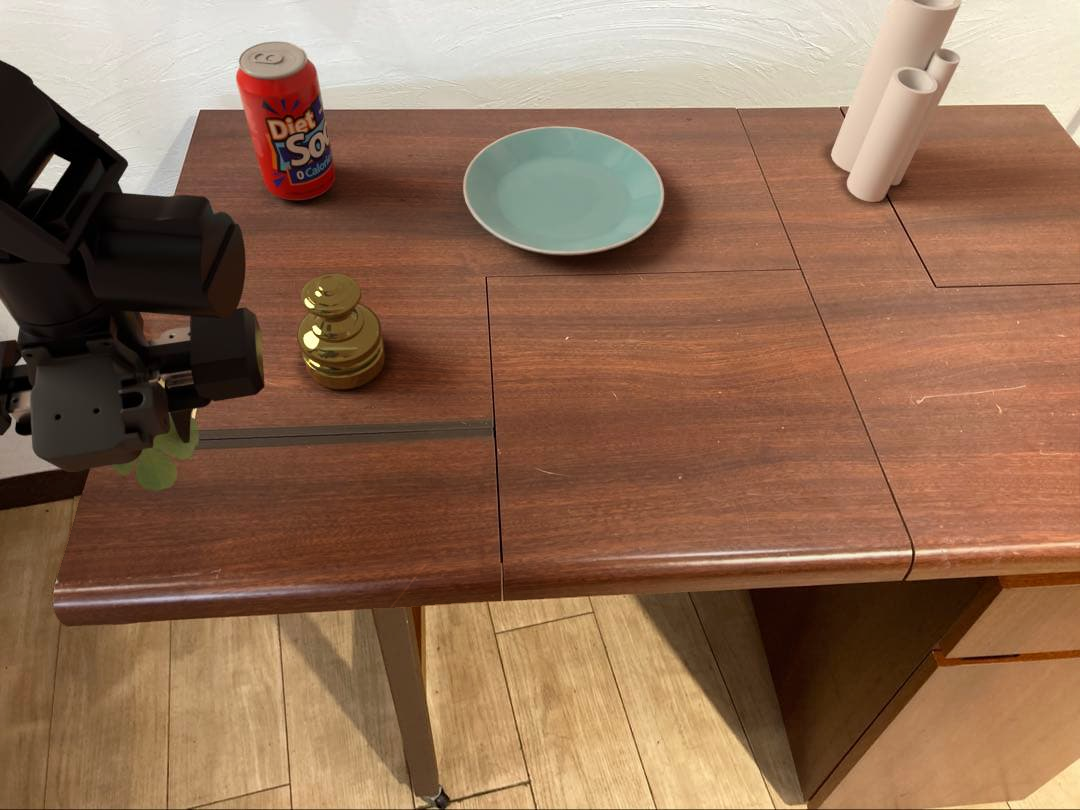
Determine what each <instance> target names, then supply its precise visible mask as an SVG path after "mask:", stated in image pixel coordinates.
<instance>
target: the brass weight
mask: <svg viewBox="0 0 1080 810" xmlns="http://www.w3.org/2000/svg"><path fill="white" fill-rule="evenodd" d="M300 298H301V299H300V300H301V304H302V305H303V307H304V309H305V310H306V311H308V312H306V314H305V315H304V316H303V317H302V319H301V320H300V322H299V324H298V327H297V329H296V330H297V331H296V339H297V340H296V341H297V343H298V346H299V348H300V349H301V350H300V352H301V353H300V354H301V357H302V360H303V362H304V366H305V368H306V371H307V373H308V375H309V377H310V378H311V379H312V380H313V381H314V382H316V383H317V384H319V385H321V386H323V387H326V388H328V389H333V390H350V389H351V390H352V389H356V388H359V387H361V386H363V385H366V384H368V383H369V382H371V381H372V380H373V379H375V378H376V377H377V375H378V374H380V372H381V371H382V369H383V367H384V364H385V360H386V354H385V347H384V345H385V343H384V342H385V341H384V337H383V334H382V325H381V320H380V319H379V317H378V316H377V314H376V313H375V312H374V311H373V310H372V309H371V308H370V307H368V306H367V305H365V304H362V303H360V301H361V298H362V290H361V287H360V285H359V283H358V282H357V280H356V279H354V278H353V277H351V276H350V275H347V274H346V273H345V274H344V273H340V272H327V273H322V274H319V275H316V276H313V278H311V279H310V280H309V281H307V282H306V283H305V284H304V286H303V287H302V290H301V293H300Z"/></svg>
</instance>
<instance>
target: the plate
mask: <svg viewBox="0 0 1080 810" xmlns="http://www.w3.org/2000/svg"><path fill="white" fill-rule="evenodd" d="M664 187H665V186H664V183H663V180H662V177H661V176H660V174H659V171H658V170H657V168H656V167H655V165H654V164H653V163H652V162H651V161H650V160H649V159H648V158H647V157H646V155H645V154H643V153H642V152H641V151H640V150H638V149H636V148H635V147H633V145H630V144H628V143H626V142H625V141H623V140H621V139H618V138H616V137H613V136H611V135H609V134H606V133H602V132H601V131H600V132H599V131H596V130H592V129H587V128H582V127H577V126H576V127H575V126H561V125H560V126H559V125H558V126H555V125H554V126H551V125H550V126H540V127H539V126H538V127H533V128H528V129H523V130H519V131H516V132H513V133H510V134H507V135H505V136H503V137H501V138H499V139H497V140H495V141H493V142H492V143H490V144H488V145H487V146H485V147H484V148H483V149H481V150H480V151H479V152H478V153H477V154H476V155H475V156H474V157H473V159H472V160H471V162H470V163H469V164H468V166H467V169H466V170H465V173H464V177H463V183H462V192H463V197H464V201H465V204H466V206H467V208H468V210H469V212H470V214H471V216H473V218H474V219H475V220H476V222H477V223H478V224H479V225H480V226H481V227H482V228H483V229H484V230H486V231H487V232H488V233H490V234H491V235H492V236H494V237H495V238H497V239H499V240H500V241H502V242H504V243H506V244H509V245H510V246H513V247H516V248H519V249H522V250H525V251H529V252H532V253H537V254H543V255H549V256H581V255H582V256H583V255H591V254H596V253H601V252H605V251H609V250H613V249H615V248H619V247H621V246H624V245H626V244H629V243H631V242H632V241H634V240H636V239H638V238H639V237H641V236H642V235H644V234H645V233H646V232H647V231H649V230H650V229H651V228H652V227H653V225H654V224H655V223H656V221H657V220H658V218H659V217H660V215H661V213H662V211H663V207H664V203H665V189H664Z"/></svg>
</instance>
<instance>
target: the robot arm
mask: <svg viewBox="0 0 1080 810" xmlns="http://www.w3.org/2000/svg"><path fill="white" fill-rule="evenodd" d="M54 156H57V157H58V158H61V159H63V160H65V161H66V162H68V163H69V165H68V166H67V167H66V169H65V170H64V172H63V174H62V175H61V177H60V178H59V180H58V181H57V182H56V184H55V185H54V187H53V189H49V188H44V187H33V186H34V184H35V183H36V182H37V180H38V179H39V177H40V175H42V172H44V170H45V169H46V167H47V166H48V164H50V162H51V160H52V159H53V157H54ZM128 166H129V162H128V160H127V159H126V158H125V157H124V156H122V155H121V153H119V152H118V151H117V150H115V149H114V148H113V147H112V146H110V145H109V144H108V143H107V142H106V141H104V140H103V139H102V138H101V137H100V133H98V132H96V131H95V130H93V129H92V128H90V127H88V126H87V125H86V124H84V123H82V122H81V121H80V120H78V119H77V118H76V117H75V116H74V115H73V114H72V113H70V112H69V111H67V110H66V109H65V108H64V107H63V106H61V105H60V104H59V103H58V102H56V101H55V100H54V99H53V98H52V97H50V96H49V95H48V94H47V93H46V92H44V91H43V90H42V89H41V88H39V87H38V86H37V85H36V84H34V80H33V79H32V77H30V76H29V75H28V74H27V73H25V72H23V71H22V70H20V69H19V68H17V66H14V65H11V64H10V63H7V62H6V61H4V60H1V59H0V301H1V303H2V304H3V306H4V307H5V309H6V310H7V312H8V313H9V315H10V316H11V318H12V319H13V320H14V322H15V324H16V325H17V326H18V334H17V339H9V340H7V339H6V340H1V341H0V436H4V435H5V433H6V432H7V431H8V430H9V429H10V428H11V426H12V423H13V422H12V421H13V418H14V420H15V426H14V431H15V433H16V434H17V435H19V436H23V437H28V436H31V445H32V451H33V453H34V454H35V455H36V457H37V458H40V459H41V460H43V461H45V462H47V463H49V464H51V465H52V466H55V467H57V468H58V469H60V470H61V471H62V470H63V471H64V472H67V473H78V472H83V471H85V470H89V469H90V470H91V469H95V468H102V467H107V466H111V465H114V464H125V463H130V462H132V461H134V460H135V459H137V458H138V459H139V457H140V454H141V452H142V450H143V449H146V448H147V449H148V448H153V440H154V438H155V437H156V436H157V435H162V434H167V433H168V432H169V431H170V418H169V414H170V415H171V418H172V420H173V423H174V426H175V428H176V431H177V434H178V436H179V437H180V439H181V440H182V442H183V443H189V442H190V421H191V417H192V414H193V411H194V410H196V409H201V408H206V407H207V406H209V405H210V404H211V403H212V401H213V402H219V401H226V400H233V399H239V398H245V397H252V396H257V395H258V394H259V393H260V392H261V391H262V390H263V389H264V388H265V387H266V386H265V374H264V373H265V372H264V371H265V370H264V357H263V356H264V355H263V343H262V342H263V341H262V330H261V327H260V323H259V321H258V318H257V314H255V312H253V311H252V310H250V309H249V308H247V307H239V305H240V302H241V299H242V297H243V296H242V295H243V291H244V288H245V281H246V267H247V266H246V265H247V264H246V262H247V261H246V249H245V248H246V247H245V240H244V237H243V232H242V229H241V227H240V224H239V223H236V222H235V221H234V219H233V218H232V216H231V215H230V214H228V213H227V212H225V211H219V210H213V207H212V205H211V201H210V199H209V198H207V197H206V196H204V195H191V194H177V195H153V194H143V193H142V194H141V193H129V192H123V190H122V187H121V185H120V183H119V182H120V180H121V178H122V177H123V175H124V173H125V172H126V170H127V168H128ZM142 313H145V314H156V315H157V314H158V315H171V316H181V317H182V316H183V317H189V326H183V327H175V328H171V329H167V330H165V331H164V332H162V334H161V335H160V336H158V337H157V338H151V339H147V337H146V335H145V333H144V324H145V320H144V318H143V316H142ZM21 359H23V361H24V362H25V363H23V364H18V363H19V362H20V360H21ZM161 381H162V382H163V383H164V386H163V385H162V384H161V383H159V382H161ZM12 417H13V418H12ZM138 459H137V460H138Z"/></svg>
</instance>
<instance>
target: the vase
mask: <svg viewBox="0 0 1080 810" xmlns="http://www.w3.org/2000/svg"><path fill="white" fill-rule="evenodd" d="M961 5H962V0H890V2H889V5H888V7H887V10H886V12H885V15H884V18H883V20H882V23H881V26H880V28H879V31H878V33H877V35H876V38H875V40H874V42H873V45H872V48H871V50H870V53H869V56H868V59H867V61H866V64H865V66H864V68H863V70H862V74H861V76H860V78H859V81H858V83H857V85H856V89H855V90H854V93H853V96H852V99H851V101H850V104H849V106H848V109H847V112H846V115H845V117H844V119H843V122H842V124H841V126H840V130H839V131H838V134H837V136H836V138H835V142H834V145H833V147H832V150H831V154H830V156H831V159H832V161H833V163H834V164H835V165H836V166H837V167H838V168H840V169H841V170H844V171H846V172H847V173H849V175H848V178H847V180H846V187H847V190H848V191H849V192H850V194H852V195H853V196H854V197H855V198H857V199H859V200H861V201H865V202H867V203H876V202H877V203H878V202H880V201H882V200H884V198H885V197H886V196H887V194H888V191H889V189H890V187H891V186H897V185H899V184H900V183H901V182H902V180H903V178H904V176H905V174H906V171H907V170H908V167H909V166H910V165H911V164H910V163H911V161H912V160H913V158H914V156H915V153H916V151H917V149H918V147H919V146H920V143H921V141H922V139H923V137H924V136H925V133H926V131H927V129H928V127H929V125H930V123H931V121H932V119H933V116H934V114H935V113H936V110H937V109H938V107H939V105H940V102H941V100H942V98H943V96H944V94H945V92H946V90H947V88H948V86H949V84H950V82H951V80H952V78H953V77H954V76H953V75H954V74H955V72H956V70H957V68H958V66H959V64H960V62H961V57H960V55H959V54H958V53H956V52H955V51H953V50H951V49H948V48H941V47H942V45H943V44H944V42H945V39H946V37H947V35H948V33H949V30H950V28H951V26H952V24H953V22H954V20H955V18H956V15H957V13H958V11H959V9H960V7H961Z"/></svg>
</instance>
